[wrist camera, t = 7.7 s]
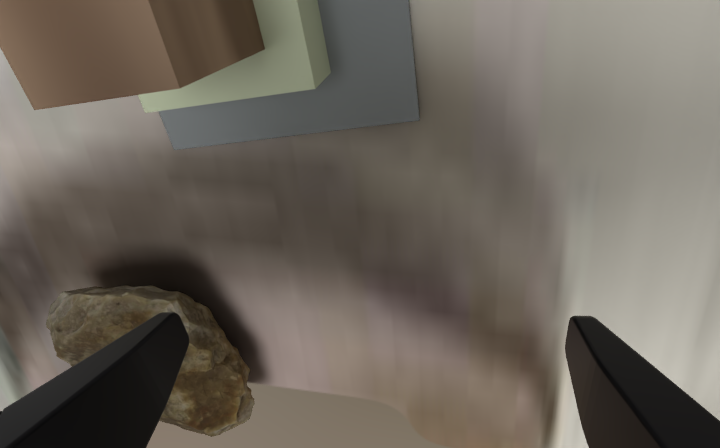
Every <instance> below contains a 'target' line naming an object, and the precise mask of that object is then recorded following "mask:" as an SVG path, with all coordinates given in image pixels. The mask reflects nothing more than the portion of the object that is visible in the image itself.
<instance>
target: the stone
mask: <svg viewBox="0 0 720 448" xmlns="http://www.w3.org/2000/svg"><path fill="white" fill-rule="evenodd" d="M162 312H175V313H177V314H178V315H179V316H180V317H181V320H182V322H183V324H184V326H185V328H186V331H187V333H188V335H189V346H188V349H187V352H186V355H185V357H184V360H183V363H182V365H181V368H180V371H179V374H178V376H177V379H176V382H175V384H174V387H173V390H172V392H171V395H170V397H169V400H168V402H167V405H166V407H165V409H164V411H163V414H162V416H161V418H160V420H159V421H162V422H165V423H170V424H174V425H177V426H179V427H181V428H183V429H186V430H190V431H193V432H197V433H201V434H205V435H208V436H211V437H212V436H216V435H220V434H221V433H223V432H225V431H228V430H230V429H232V428H234V427H236V426H238V425H240V424H242V423H245V422H246V421H247V420H249V419H250V416H251V413H252V408H253V405H254V398H253V397H252V395H251V389H250V388H248V387H247V380H248V374H249V372H250V369H249V368H248V366H247V365H246V364H245V363H244V362H243V360H242V358H241V356H240V355H239V352H238V349H237V348H236V347H234V346H232V345H231V344H230V342H229V341H228V340H227V338H226V336H225V333H224V331H223V330H222V329H221V328H220V327H219V325H218V324H217V322H216V320H215V319H214V317H213V315H212V313H211V311H210V309H209V308H208V307H206V306H203V305H202V304H201V303H197V302H194V300H193V299H192V298H191V297H189V296H188V295H186V294H184V293H180V292H178V291H174V292H170V291H166V290H162V289H160V288H157V287H155V286H152V285H151V286H139V287H131V286H129V285H124V286H118V287H109V288H102V287H90V288H84V289H78V290H72V291H64V292H62V293H61V294H60V295H59V296H58V298H57V300H56V301H54V302H53V303H52V304H51V306H50V310H49V314H48V319H47V322H46V325H47V328H48V329H49V330H50V331H51V333H50V334H51V337H52V340H53V344H54V348H55V351H56V352H57V355H56V356H57V357H59V358H60V359H62V360H64V361H66V362H67V363H69V364H70V365H71V366H72V367H73V366H74V365H76V364H78V363H79V362H81V361H82V360H84V359H86V358H87V357H89V356H91V355H92V354H94V353H95V352H97V351H99V350H100V349H102V348H103V347H105V346H107V345H108V344H110V343H112V342H113V341H115V340H116V339H118V338H120V337H121V336H123V335H125V334H126V333H128V332H129V331H131V330H133V329H134V328H136V327H138V326H139V325H141V324H142V323H144V322H146V321H147V320H149V319H151V318H152V317H154V316H155V315H157V314H159V313H162Z"/></svg>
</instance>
